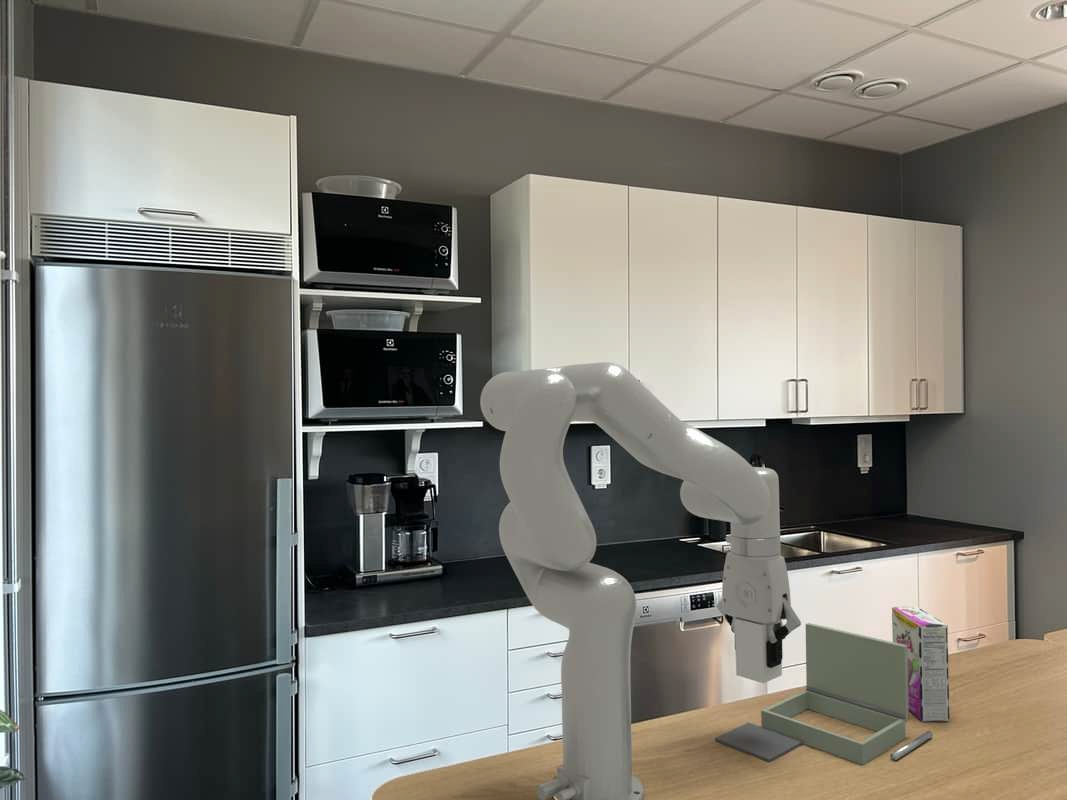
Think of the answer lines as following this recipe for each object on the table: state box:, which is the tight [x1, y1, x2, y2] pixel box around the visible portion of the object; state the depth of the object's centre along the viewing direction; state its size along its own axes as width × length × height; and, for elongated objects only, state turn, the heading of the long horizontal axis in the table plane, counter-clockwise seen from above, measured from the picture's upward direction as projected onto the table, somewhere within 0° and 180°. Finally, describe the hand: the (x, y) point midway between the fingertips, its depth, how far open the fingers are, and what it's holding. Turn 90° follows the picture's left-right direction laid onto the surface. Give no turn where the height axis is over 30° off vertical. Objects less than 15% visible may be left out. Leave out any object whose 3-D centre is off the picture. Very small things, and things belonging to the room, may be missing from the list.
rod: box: [889, 730, 934, 761], centre depth 123 cm, size 12×1×1 cm, turn 130°
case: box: [760, 622, 910, 766], centre depth 129 cm, size 15×17×14 cm
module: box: [734, 618, 783, 684], centre depth 126 cm, size 5×5×10 cm
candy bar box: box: [891, 606, 950, 723], centre depth 138 cm, size 11×5×16 cm, turn 179°
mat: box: [714, 721, 804, 763], centre depth 126 cm, size 9×10×1 cm
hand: (758, 660), depth 126 cm, fingers closed on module, 5 cm apart
